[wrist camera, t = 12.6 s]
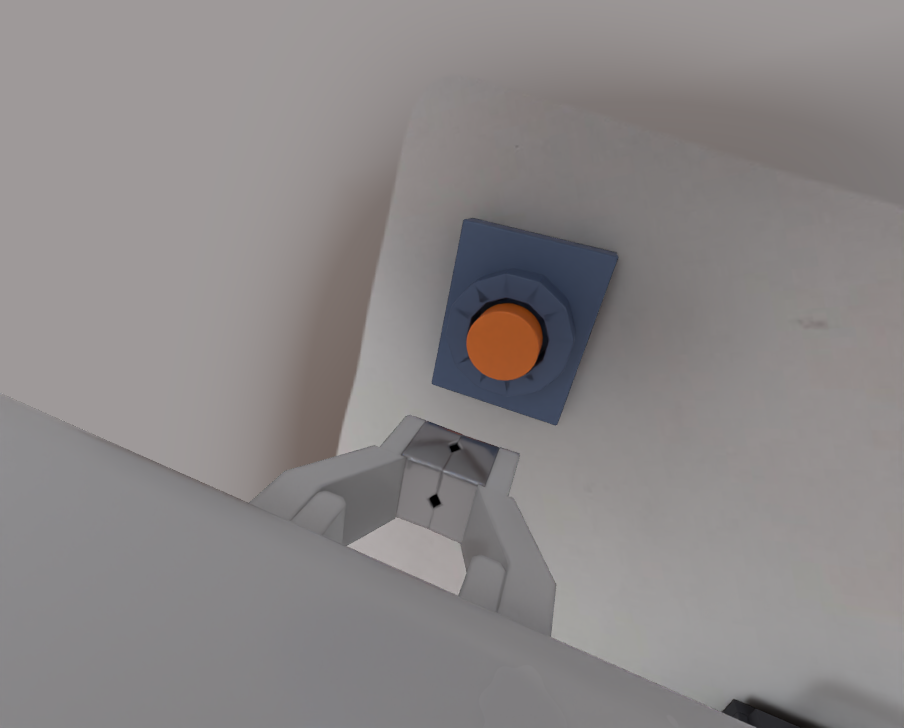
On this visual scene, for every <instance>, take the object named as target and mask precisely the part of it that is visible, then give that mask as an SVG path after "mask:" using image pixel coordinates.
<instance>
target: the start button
mask: <svg viewBox="0 0 904 728" xmlns="http://www.w3.org/2000/svg"><path fill="white" fill-rule="evenodd" d="M542 341H543V334H542V329H541V326H540V324H539V322H538V320H537V319H536V317H535V316H534V315H533V314H532V313H531V312H530V311H529V310H527V309H526V308H524V307H522V306H520V305H517V304H512V303H502V304H497V305H494V306H492V307H490V308H489V309H487V310H486V311H485V312H484V313H483V314H482V315H481V316H480V317H479V318H478V319H477V320H476V321H475V322H474V323H473V325H472V326H471V328H470V330H469V332H468V335H467V341H466V346H467V352H468V355H469V358H470V360H471V362H472V363H473V365H474V366H475V367H476V368H477V369H478V370H479V371H480V372H481V373H483V374H484V375H486V376H488V377H490V378H493V379H496V380H513V379H517V378H519V377H521V376H523V375H525V374H526V373H528V372H529V371H530V370H531V369H532V367H533V366H534V364H535V363H536V360H537V358H538V355H539V352H540V349H541V346H542Z"/></svg>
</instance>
